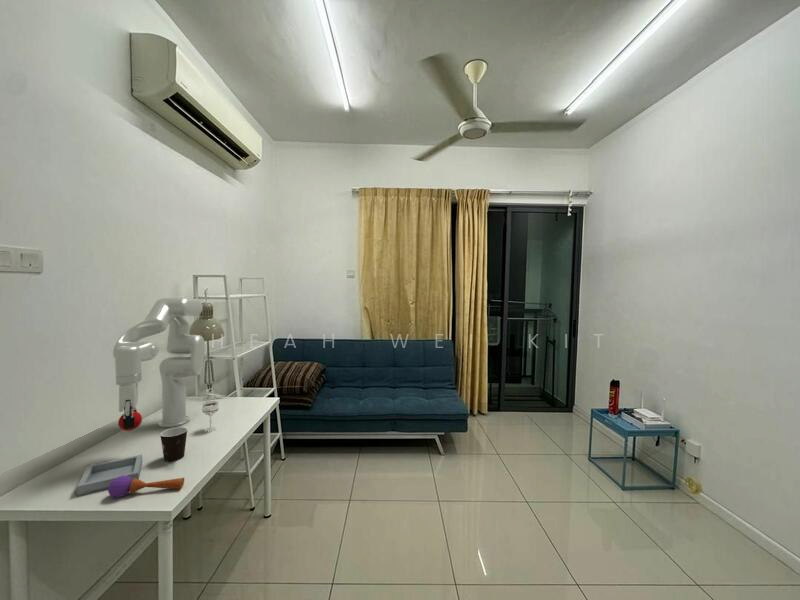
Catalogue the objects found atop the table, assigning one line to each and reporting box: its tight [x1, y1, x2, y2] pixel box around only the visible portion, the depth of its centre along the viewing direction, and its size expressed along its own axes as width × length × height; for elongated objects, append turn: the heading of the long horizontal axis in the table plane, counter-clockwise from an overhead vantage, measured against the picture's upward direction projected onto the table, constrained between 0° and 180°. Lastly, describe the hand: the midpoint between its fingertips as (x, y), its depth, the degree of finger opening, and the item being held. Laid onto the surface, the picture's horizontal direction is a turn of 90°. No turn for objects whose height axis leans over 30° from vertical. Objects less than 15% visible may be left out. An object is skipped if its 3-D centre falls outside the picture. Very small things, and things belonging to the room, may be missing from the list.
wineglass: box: [201, 400, 220, 432], centre depth 154 cm, size 7×7×12 cm
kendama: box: [107, 476, 185, 498], centre depth 106 cm, size 6×6×20 cm
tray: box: [76, 454, 143, 497], centre depth 114 cm, size 15×15×3 cm
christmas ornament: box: [117, 408, 143, 432], centre depth 128 cm, size 7×7×10 cm
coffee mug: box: [159, 426, 188, 463], centre depth 127 cm, size 12×9×10 cm
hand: (130, 423), depth 128 cm, fingers closed on christmas ornament, 7 cm apart
